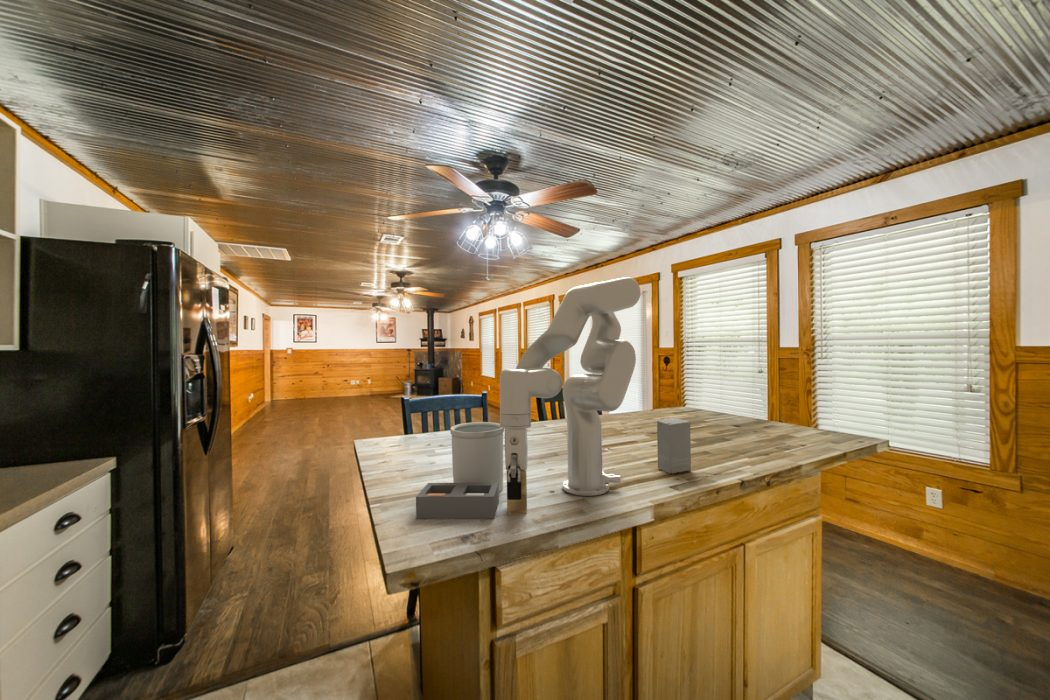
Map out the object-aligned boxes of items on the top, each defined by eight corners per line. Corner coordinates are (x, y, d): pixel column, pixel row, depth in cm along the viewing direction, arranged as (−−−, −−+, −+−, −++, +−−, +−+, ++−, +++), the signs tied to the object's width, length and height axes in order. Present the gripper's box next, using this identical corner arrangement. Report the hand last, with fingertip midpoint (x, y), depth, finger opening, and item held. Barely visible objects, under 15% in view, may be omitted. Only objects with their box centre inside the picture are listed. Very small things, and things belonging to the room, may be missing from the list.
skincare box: (677, 465, 130) (676, 417, 130) (693, 471, 123) (692, 420, 123) (655, 468, 127) (654, 419, 127) (670, 474, 120) (669, 422, 120)
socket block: (498, 502, 100) (498, 481, 100) (494, 518, 90) (493, 495, 90) (428, 502, 101) (428, 482, 101) (416, 518, 91) (415, 496, 91)
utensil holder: (497, 500, 101) (495, 432, 102) (442, 497, 104) (441, 430, 105) (510, 482, 116) (509, 422, 116) (462, 479, 119) (461, 421, 119)
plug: (527, 506, 97) (526, 465, 97) (526, 513, 92) (525, 471, 93) (508, 506, 97) (508, 465, 97) (507, 513, 93) (506, 471, 93)
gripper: (530, 426, 86) (530, 505, 86) (531, 415, 104) (532, 481, 103) (496, 426, 87) (496, 505, 86) (503, 415, 104) (503, 481, 103)
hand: (515, 492), depth 95 cm, fingers open, 9 cm apart
